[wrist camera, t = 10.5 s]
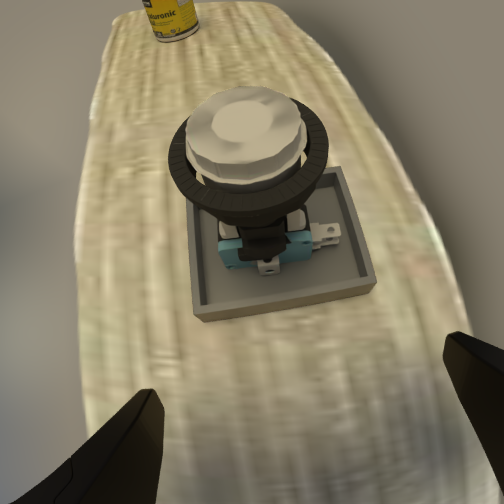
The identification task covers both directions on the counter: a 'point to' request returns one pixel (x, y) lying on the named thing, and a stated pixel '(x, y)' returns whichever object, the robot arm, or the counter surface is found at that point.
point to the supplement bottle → (171, 18)
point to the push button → (254, 174)
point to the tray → (292, 273)
